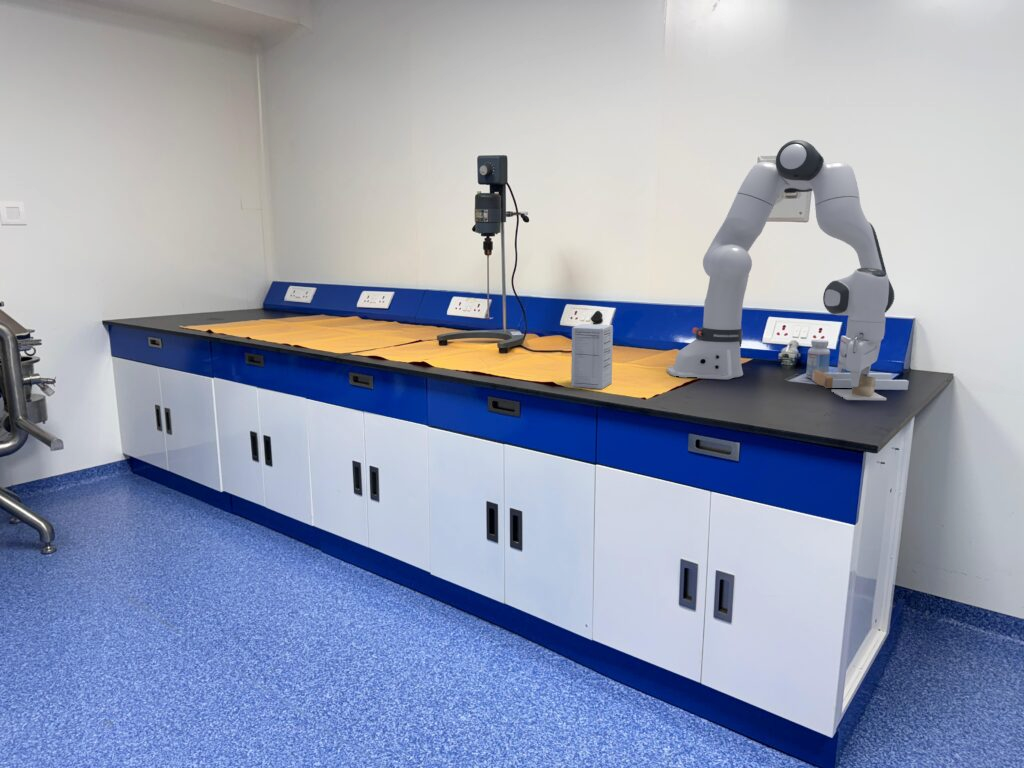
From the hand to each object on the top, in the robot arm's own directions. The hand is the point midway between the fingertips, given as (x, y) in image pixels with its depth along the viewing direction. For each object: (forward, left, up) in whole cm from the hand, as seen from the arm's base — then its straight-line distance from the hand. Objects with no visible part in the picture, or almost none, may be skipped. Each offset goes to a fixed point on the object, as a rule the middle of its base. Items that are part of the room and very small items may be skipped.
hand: (859, 383), depth 185 cm
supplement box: (-70, +9, -4) cm, 71 cm away
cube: (+1, -1, -3) cm, 3 cm away
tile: (0, 0, -3) cm, 3 cm away
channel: (+6, +14, -3) cm, 16 cm away
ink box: (+9, +28, -4) cm, 30 cm away
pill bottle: (-2, +24, -4) cm, 24 cm away
